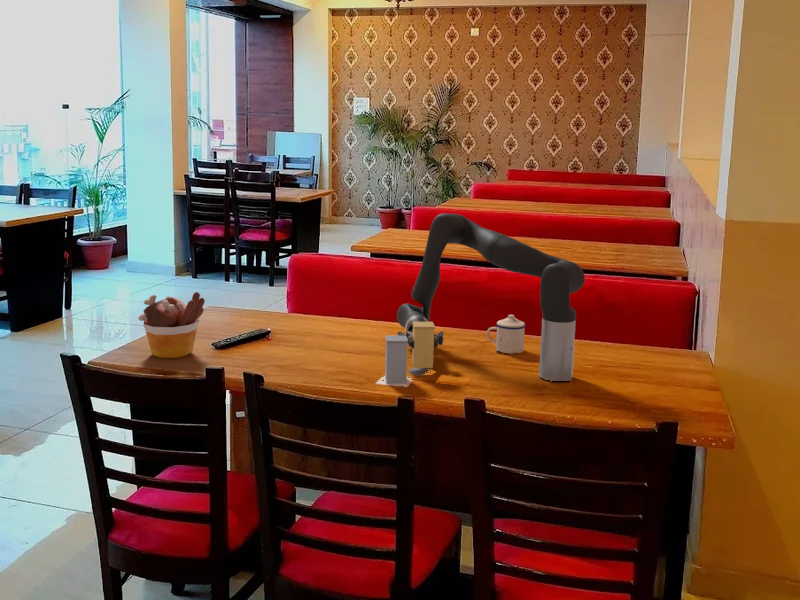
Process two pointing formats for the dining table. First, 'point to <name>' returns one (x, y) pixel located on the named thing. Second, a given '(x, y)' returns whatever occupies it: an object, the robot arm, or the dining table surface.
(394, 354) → the slate tea tin
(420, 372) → the felt coaster
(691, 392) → the dining table surface
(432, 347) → the ochre tea tin
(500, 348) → the teacup with lid
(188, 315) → the bucket of meat
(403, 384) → the cream tile
